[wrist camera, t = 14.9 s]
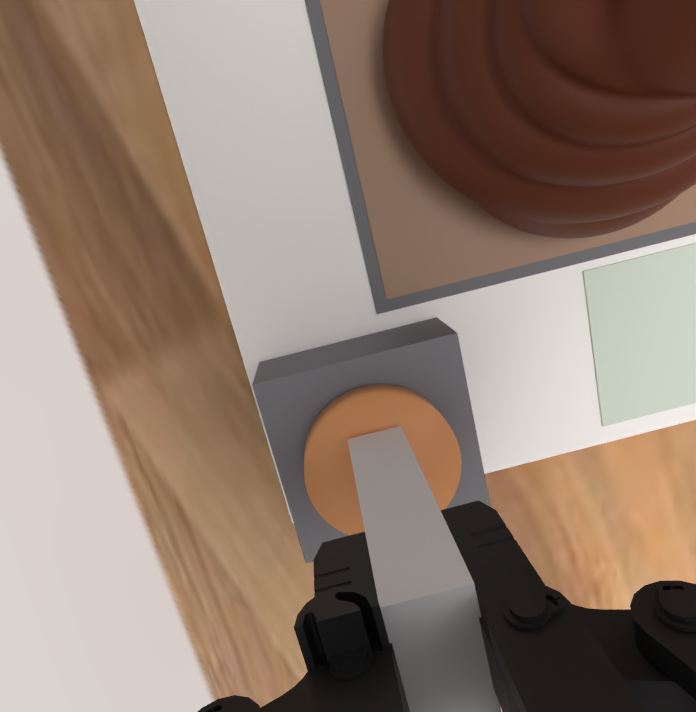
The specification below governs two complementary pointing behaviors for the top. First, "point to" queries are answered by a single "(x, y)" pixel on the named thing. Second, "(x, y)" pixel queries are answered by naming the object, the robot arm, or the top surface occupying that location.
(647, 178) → the poop emoji
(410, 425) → the button
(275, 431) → the picture board
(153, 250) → the top surface
